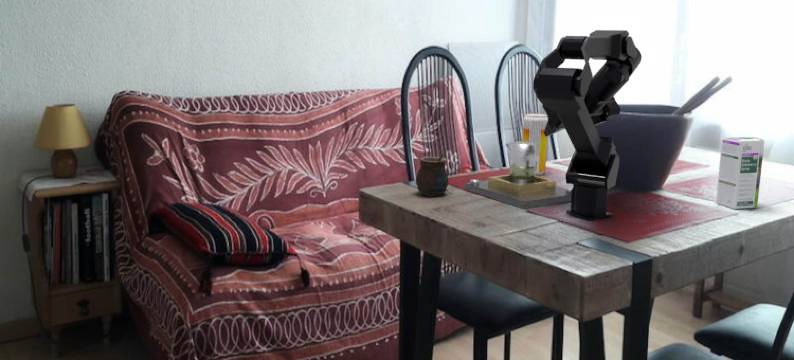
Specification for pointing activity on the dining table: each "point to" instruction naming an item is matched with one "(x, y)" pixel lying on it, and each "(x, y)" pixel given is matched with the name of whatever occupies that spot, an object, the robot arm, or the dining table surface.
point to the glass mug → (522, 162)
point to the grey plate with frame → (521, 191)
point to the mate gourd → (432, 176)
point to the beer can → (536, 138)
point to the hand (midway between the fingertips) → (560, 132)
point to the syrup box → (740, 172)
